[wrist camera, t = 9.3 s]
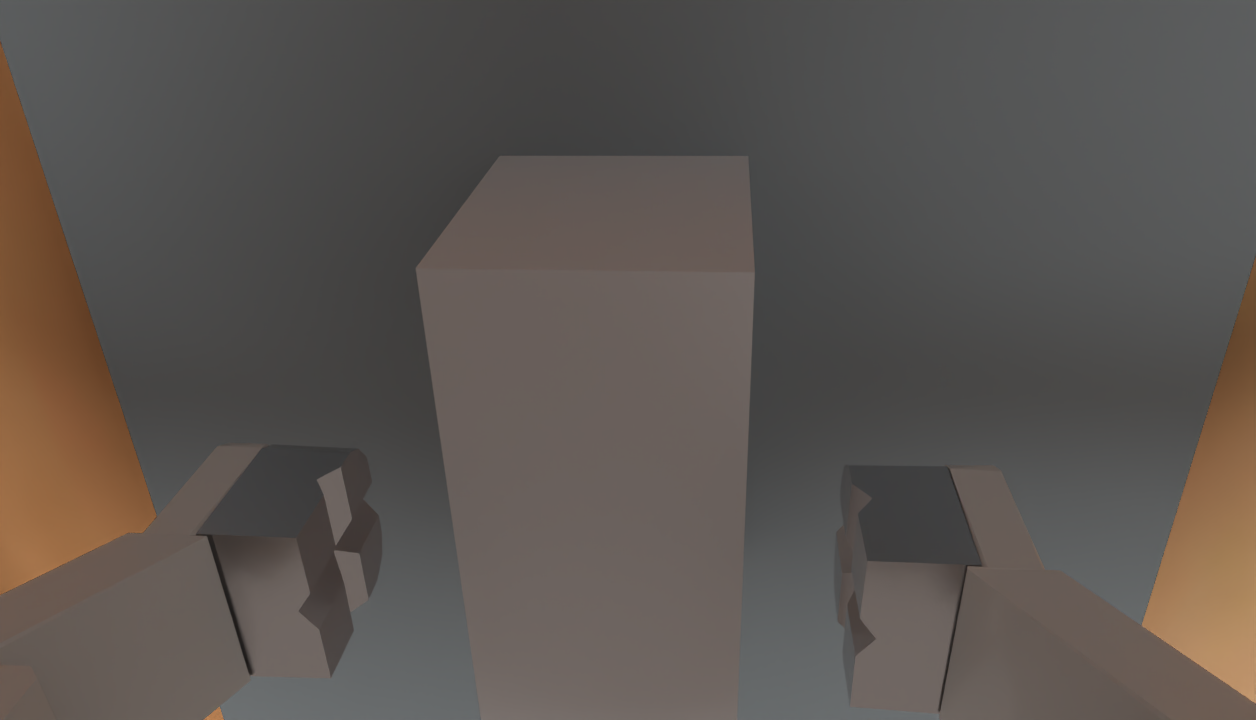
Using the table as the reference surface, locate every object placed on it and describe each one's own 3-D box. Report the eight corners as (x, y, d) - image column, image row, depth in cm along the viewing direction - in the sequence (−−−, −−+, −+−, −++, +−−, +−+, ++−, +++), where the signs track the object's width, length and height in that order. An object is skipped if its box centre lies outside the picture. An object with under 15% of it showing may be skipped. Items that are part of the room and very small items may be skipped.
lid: (13, -250, 12) (-471, -315, 7) (1328, -308, 10) (1838, -441, 5) (269, 652, 19) (116, 919, 14) (1059, 695, 17) (1182, 1009, 13)
